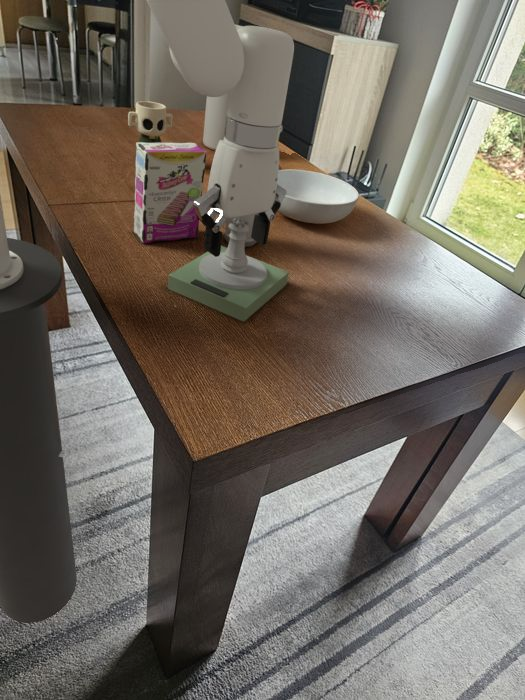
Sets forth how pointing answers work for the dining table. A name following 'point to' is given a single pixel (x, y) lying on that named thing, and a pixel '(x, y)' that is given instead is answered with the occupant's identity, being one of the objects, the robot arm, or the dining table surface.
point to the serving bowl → (315, 196)
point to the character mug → (150, 120)
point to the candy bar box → (167, 190)
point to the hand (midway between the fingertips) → (236, 246)
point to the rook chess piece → (236, 248)
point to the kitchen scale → (228, 284)
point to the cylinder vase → (215, 120)
